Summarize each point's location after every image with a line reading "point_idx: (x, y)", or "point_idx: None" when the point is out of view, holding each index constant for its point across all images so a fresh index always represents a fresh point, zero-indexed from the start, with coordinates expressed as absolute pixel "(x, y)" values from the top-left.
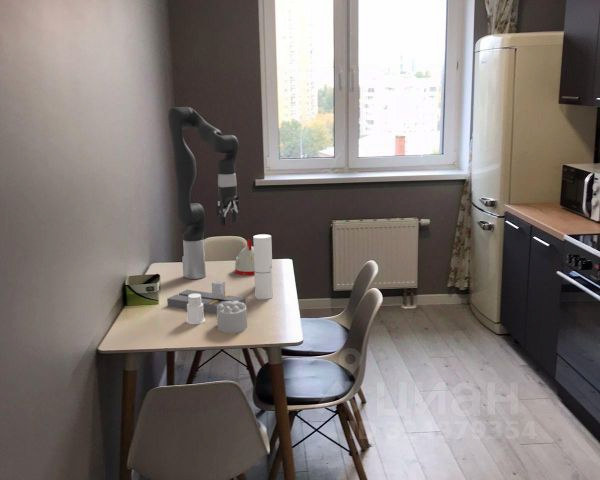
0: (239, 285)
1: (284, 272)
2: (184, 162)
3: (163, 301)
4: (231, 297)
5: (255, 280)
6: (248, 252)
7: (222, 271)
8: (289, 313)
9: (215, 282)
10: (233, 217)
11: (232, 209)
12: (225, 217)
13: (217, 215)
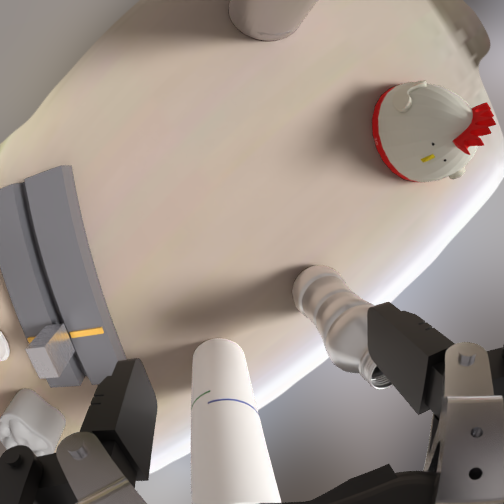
0: (268, 215)
1: (441, 238)
2: None
3: (10, 148)
4: (99, 349)
5: (194, 383)
6: (442, 141)
7: (363, 52)
8: (163, 458)
9: (35, 356)
10: (393, 346)
11: (465, 394)
12: (141, 473)
13: (17, 456)
